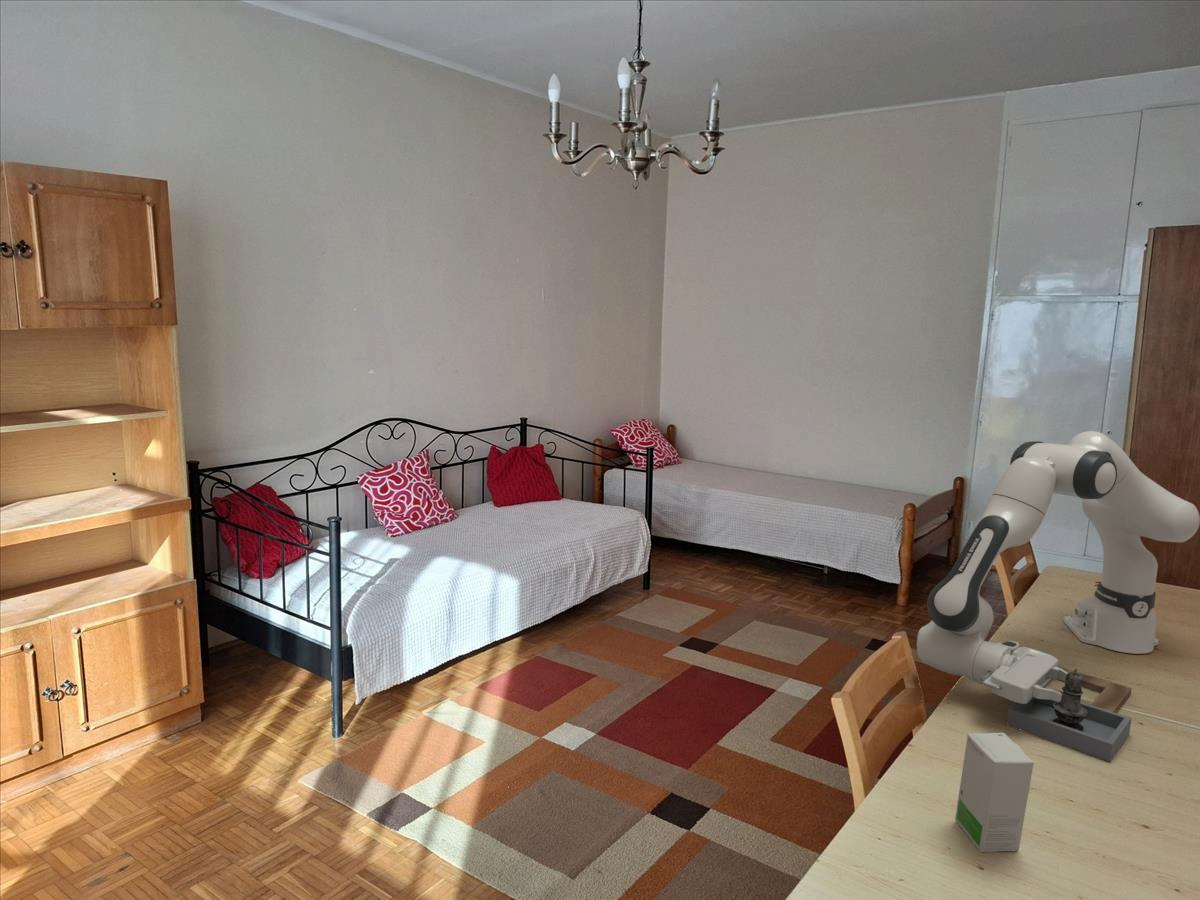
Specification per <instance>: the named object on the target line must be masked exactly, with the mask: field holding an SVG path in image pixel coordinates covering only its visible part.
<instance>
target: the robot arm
mask: <svg viewBox="0 0 1200 900" xmlns="http://www.w3.org/2000/svg"><path fill="white" fill-rule="evenodd" d="M1053 494H1054V495H1062V496H1068V497H1077V498H1079V499H1082V501H1081V507H1082V511H1083V513H1084V516H1085V517H1086V518H1087V519H1088V520H1089V521H1090V523H1091V524H1092V525H1093V526H1094V528H1095V529H1096V532H1097V534H1098V536H1099V539H1100V542H1101V545H1102V553H1103V554H1102V555H1103V560H1102V561H1103V562H1102V571H1101V572H1102V573H1101V579H1100V580H1101V581H1094V583H1095V584H1094V585H1093V586H1094V587H1096V589H1095V591H1094V594H1092V595H1090V596H1088V597H1086V598H1083V599H1081V600H1079V601H1078V602H1077V603H1076V604H1075V609H1074V612H1073V613H1074V614H1070V615H1066V616H1063V618H1062V622H1063V623H1064V624H1065V625H1066V626H1067V627H1068V629H1069V630H1070V631H1071V632H1073V635H1075V636H1076V637H1077V638H1078V640H1079V641H1080V642H1082V643H1085V644H1089V645H1093V646H1098V647H1100V648H1101V647H1102V648H1104V649H1107V650H1110V651H1115V652H1119V653H1124V654H1125V653H1127V654H1134V655H1135V654H1136V655H1140V654H1143V655H1144V654H1149V653H1151V652H1153V651H1154V649H1155V647H1156V646H1159V639H1158V638H1156V624H1157V613H1156V611H1155V610H1154V608H1155V604H1156V601H1157V599H1156V597H1157V595H1156V592H1155V589H1156V582H1157V575H1158V568H1159V565H1158V561H1157V558H1156V557H1155V555H1154V554H1153V553H1152V552H1151V551H1149V550H1148V549H1147V548H1146V547H1145V545H1144V543H1143V541H1142V540H1141V537H1144V538H1146V539H1150V540H1151V539H1152V540H1155V541H1159V542H1167V543H1184V542H1187V541H1188V540H1190V539H1191V538H1192V537H1193V536H1194V535H1195V534H1196V533H1197V531H1198V529H1199V527H1200V512H1199V511H1198V509H1197V507H1196V505H1195V504H1193V503H1192V502H1189V501H1188V500H1185V499H1183V498H1181V497H1179V496H1177V495H1176V494H1174V493H1172V492H1170V491H1169V490H1167V489H1166V488H1164V487H1163V486H1161V485H1160V484H1158V483H1157V482H1155V481H1154V480H1153V479H1151V478H1150V477H1148V476H1147V475H1145V474H1144V473H1142V471H1140V469H1139V468H1138V467H1137V466H1136V464H1135V463H1134V462H1133V461H1132V460H1131V458H1130V457H1129V456H1128V454H1127V453H1126V452H1125V450H1123V449H1122V447H1120V446H1119V445H1118V444H1117V443H1116V442H1115V441H1114V440H1112V439H1111V438H1110V437H1109V436H1107V435H1106V434H1104V433H1102V432H1099V431H1096V430H1086V431H1083V432H1080V433H1078V434H1076V435H1074V436H1073V437H1072V438H1071V439H1070V440H1069V442H1068V443H1067V444H1060V443H1051V442H1049V443H1048V442H1044V441H1039V440H1038V441H1037V440H1036V441H1027V442H1024V443H1022V444H1020V445H1019V446H1018V447H1017V448H1016V449H1015V450H1014V452H1013V453H1012V455H1011V457H1010V462H1009V466H1008V468H1007V469H1006V470H1005V471H1004V473H1003V475H1002V476H1001V478H1000V480H999V481H998V483H997V484H996V486H995V488H994V489H993V493H992V494H991V497H990V499H989V500H988V502H987V505H986V507H985V509H984V511H983V514H982V516H981V517H980V520H979V521H978V523H977V524H976V527H975V528H974V529H973V531H972V533H971V534H970V536H969V537H968V540H967V541H966V543H965V545H964V547H963V549H962V550H961V552H960V554H959V556H958V558H957V559H956V561H955V563H954V565H953V566H952V568H951V570H950V571H949V572H948V574H946V576H945V577H944V578H943V579H942V580H941V581H940V582H938V583H937V584H936V585H935V586H934V587H933V588H932V589H931V591H930V592H929V594H928V596H927V600H926V610H927V613H928V616H929V617H930V619H931V621H930V622H928V623H927V624H925V625H923V626H921V628H920V629H919V631H918V632H917V635H916V641H915V643H916V646H915V647H916V652H917V655H918V657H919V658H920V660H921V661H922V662H923V663H924V664H926V665H928V666H929V667H932V668H934V669H937V670H939V671H941V672H943V673H946V674H950V675H953V676H961V677H965V678H968V679H969V680H971V681H972V682H974V683H977V684H980V685H983V686H984V687H986V688H988V689H989V690H990V692H991V693H993V694H995V695H997V696H998V697H999V696H1000V697H1001V698H1004V699H1007V700H1009V701H1011V702H1014V703H1015V702H1017V703H1021V704H1027V703H1028V702H1029V701H1030V700H1031V699H1032V698H1033V697H1034V698H1038V699H1049V700H1054V701H1057V702H1060V701H1061V700H1062V699H1063V690H1060V689H1056V688H1052V689H1051V688H1046V687H1045V688H1043V687H1044V686H1045V685H1046V684H1047V683H1048V682H1049V681H1050V680H1051V679H1052V678H1053V680H1055V681H1060V680H1062V681H1061V682H1063V681H1064V683H1065V680H1066V675H1067V672H1066V671H1064V670H1063V669H1061V668H1058V666H1059V659H1058V658H1057V657H1056V656H1053V655H1052V654H1049V653H1046V652H1043V651H1040V650H1038V649H1034V648H1031V647H1027V646H1020V643H1019V642H1016V641H1013V640H1008V641H1007V640H1006V641H1003V642H990V641H987V638H988V636H989V634H990V632H991V629H992V628H993V625H994V621H995V613H994V610H993V608H992V606H991V604H990V603H989V602H988V601H987V600H985V599H984V597H982V596H981V595H980V591H981V587H982V585H983V583H984V582H985V579H986V578H987V575H989V572H990V570H991V569H992V567H993V565H994V563H995V561H996V560H997V558H998V556H999V555H1000V554H1001V553H1003V552H1004V551H1005V550H1006V549H1009V548H1012V547H1019V546H1023V545H1024V544H1027V543H1028V542H1030V541H1031V540H1032V539H1033V537H1034V536H1035V534H1036V532H1038V531H1039V530H1038V529H1039V528H1040V526H1041V524H1042V523H1043V520H1044V518H1045V516H1046V513H1047V511H1048V508H1049V506H1050V504H1051V501H1052V498H1053ZM1058 679H1059V680H1058Z"/></svg>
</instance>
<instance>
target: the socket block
mask: <svg viewBox="0 0 1200 900" xmlns="http://www.w3.org/2000/svg"><path fill="white" fill-rule="evenodd" d="M1058 668H1061V669H1063V670H1064V671H1066V672H1067V673H1069V672H1074V670H1072V669H1068V668H1065V667H1061V666H1059V665H1058ZM1077 673H1079V674H1080V675H1082V677H1083V682H1082V688H1083V687H1084V688H1083V689H1086V688H1087V689H1086V690H1089V689H1090V691H1093V692H1095V693H1096V692H1097V693H1099V695H1098V696H1097V697H1096V698H1095V699H1094V701H1093V702H1090V701H1087V700H1083V699H1081V700H1080V702H1083V703H1086V704H1090V705H1093V706H1096V707H1099V708H1102V709H1105V710H1108V711H1112V712H1115V713H1118V712H1119V710H1120V709H1122V706H1123V705H1124V704H1125V702H1126V701H1127V700H1128V699H1129V698H1130V696H1131V694H1132V687H1129V686H1126V685H1122V684H1120V683H1116V682H1112V681H1109V680H1105V679H1102V678H1099V677H1096V676H1093V675H1089V674H1086V673H1082V672H1080V671H1077ZM1053 680H1054V679H1053V678H1052V679H1051V680H1050V681H1049V682H1048V683H1047V684H1046V685H1045V686H1044V687H1043V688H1046V687H1047V686H1048V685H1049V684H1050V683H1051V682H1052V681H1053ZM1057 681H1060V680H1059V679H1058V680H1057Z"/></svg>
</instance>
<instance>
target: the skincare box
mask: <svg viewBox="0 0 1200 900" xmlns="http://www.w3.org/2000/svg"><path fill="white" fill-rule="evenodd" d="M965 744H966V745H965V750H964V751H965V752H964V755H963V756H964V759H963V763H962V764H963V765H962V769H961V770H962V771H961V778H960V785H959V791H958V798H957V803H956V804H957V805H956V812H955V816H954V817H955V822H956V821H957V822H956V823H957V824H958V823H959V824H958V826H960V828H961V827H962V828H961V829H962V830H963V832H964V831H965V832H964V833H965V834H966V836H967V837H968V836H969V837H968V838H969V839H970V841H971V840H972V841H973V842H974V843H975V844H974V843H973V842H972V841H971V842H972V843H973V844H974V846H975V845H976V846H977V847H978V848H977V847H976V846H975V847H976V848H977V850H978V849H979V850H980V851H981V852H987V853H999V852H998V851H1013V850H1015V851H1014V852H1017V851H1016V850H1019V851H1020V845H1021V839H1022V834H1023V826H1024V821H1025V816H1026V810H1027V803H1028V797H1029V793H1030V786H1031V780H1032V775H1033V769H1034V763H1035V762H1034V761H1033V760H1032V759H1031V758H1030V757H1029V756H1028V755H1027V754H1026V753H1025V752H1024V751H1023V750H1022V748H1021V747H1020V746H1019V745H1018V744H1017V743H1015V742H1014V741H1013V740H1012V739H1011V738H1010V737H1009V736H1008V735H1007V734H1006V733H1004V732H989V733H987V732H983V733H982V732H981V733H967V737H966V743H965ZM979 850H978V851H979ZM980 851H979V852H980ZM981 852H980V853H981Z"/></svg>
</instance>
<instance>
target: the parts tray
mask: <svg viewBox="0 0 1200 900" xmlns="http://www.w3.org/2000/svg"><path fill="white" fill-rule="evenodd" d="M1061 701H1062V700H1061ZM1055 702H1057V701H1054V700H1049V699H1038V698H1034V697H1033V698H1032V699H1031V700H1030V701H1029V702H1028V703H1027V704H1021V703H1017V702H1014V703H1013V704H1012V705H1011V706H1010V707H1009V708H1008V711H1007V712H1008V713H1007V719H1006V720H1007V721H1006V726H1007V725H1009V726H1008V727H1010V726H1012V727H1011V728H1013V727H1015V728H1014V729H1016V728H1017V729H1016V730H1019V729H1021V730H1023V731H1022V732H1024V731H1025V733H1027V732H1028V733H1027V734H1030V735H1033V736H1036V737H1038V738H1042V739H1044V740H1047V741H1050V742H1053V743H1056V744H1059V745H1060V746H1064V747H1067V748H1070V749H1073V750H1075V751H1078V752H1081V753H1084V754H1086V755H1089V756H1092V757H1095V758H1097V759H1100V760H1103V761H1106V762H1108V763H1109V762H1110V763H1111V761H1112V760H1113V758H1115V757H1114V756H1115V755H1116V754H1117V752H1118V751H1119V750H1120V749H1121V747H1122V745H1123V744H1124V743H1125V741H1126V740H1127V738H1128V737H1129V736H1130V733H1131V732H1130V731H1131V725H1132V719H1133V718H1132V717H1131V716H1127V715H1124V714H1121V713H1118V712H1117V713H1115V712H1112V711H1108V710H1105V709H1102V708H1099V707H1096V706H1093V705H1090V704H1086V703H1083V702H1080V705H1081V707H1083V708H1085V709H1086V711H1087V715H1086V716H1085V718H1084V719H1083V721H1082V722H1080V723H1079V724H1081V725H1082V726H1083V731H1079V730H1076V729H1073V728H1070V727H1067V726H1064V725H1061V724H1058V723H1055V722H1053V720H1054V719H1056V718H1058V717H1057V716H1056V714H1055V710H1054V709H1055V708H1054V707H1053V704H1054V703H1055ZM1021 730H1020V731H1021Z"/></svg>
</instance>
